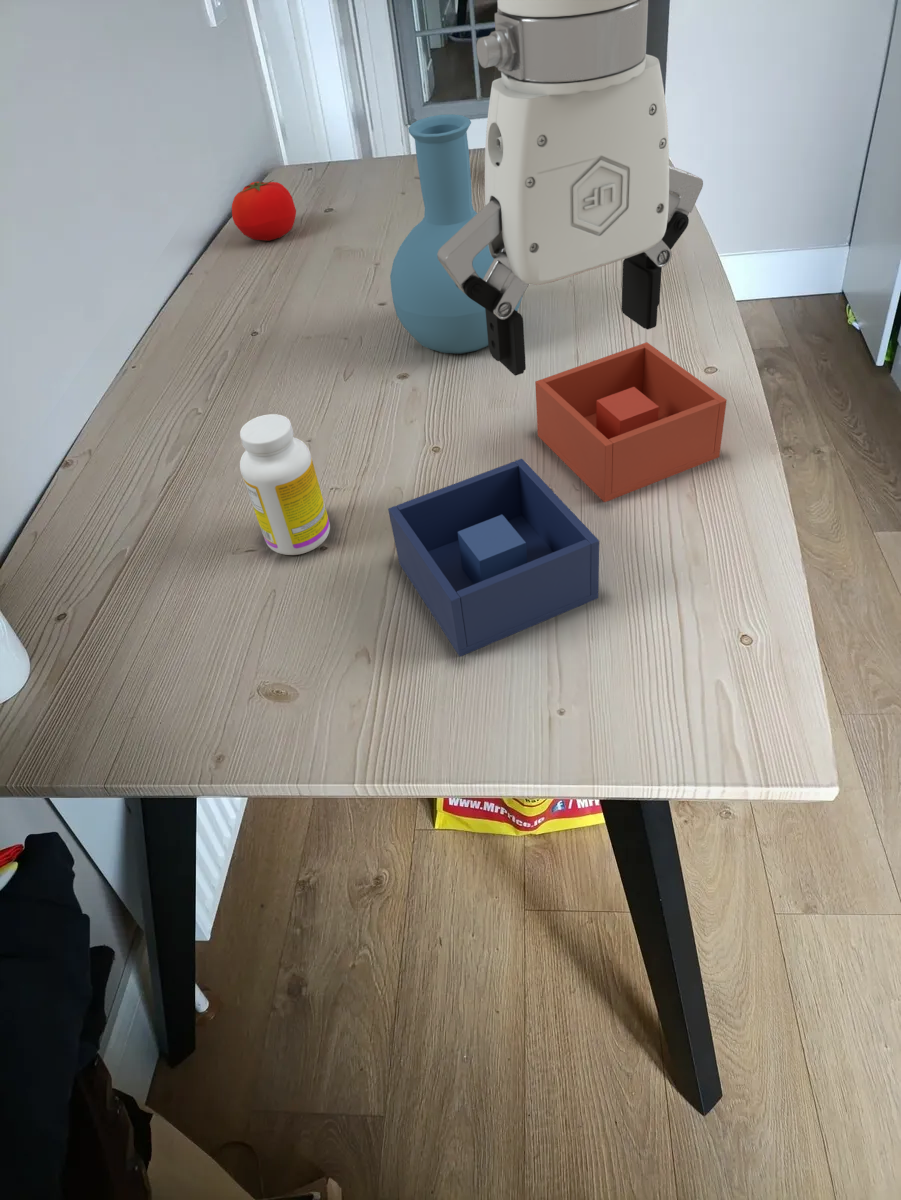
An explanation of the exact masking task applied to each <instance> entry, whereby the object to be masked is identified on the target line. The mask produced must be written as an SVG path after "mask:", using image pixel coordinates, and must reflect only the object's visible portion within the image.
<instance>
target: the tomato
mask: <svg viewBox="0 0 901 1200" xmlns="http://www.w3.org/2000/svg"><path fill="white" fill-rule="evenodd" d="M296 216H297V208H296V206H295V203H294V199H293V197H292V195H291V193H290V191H289V190H288V189H287V188H286V187H285V186H284V185H283V184H282V183H280V182H277V181H274V179H272V180H270V181H267V182H264V181H253V182H250V183H249V184H247V185H246V186H244V187H243V189H242V190H241V191H239V192H237V194H236V195H235V196H234V197H233V200H232V202H231V217H232V221H233V224H234V225H235V226H236V228H237V230H239V231H240V232H241V233H242V235H244V236H246V237H247V238H249V239H251V240H254V241H267V242H269V241H273V240H277V239H280V238H282V237H284V236H286V235H287V234H288V233H290V232H291V230H292V228H293V226H294V225H295V220H296Z"/></svg>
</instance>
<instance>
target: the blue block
mask: <svg viewBox="0 0 901 1200" xmlns="http://www.w3.org/2000/svg"><path fill="white" fill-rule="evenodd" d="M457 533H458V540H459V547H460V555H461V562H462V569H463V570H464V571H465V573H466V574H467V576H468V577H469V578H470V580H471V581H472V582H473V584H476V583H479V582H481V581H484V580H486V579H489V578H491V577H494V576H496V575H499V574H501V573H503V572H506V571H508V570H511V569H513V568H516V567H518V566H521V565H523V564H526V563H527V551H526V542H525V541H524V540H523V539H522V537H521V536H520V535H519V534H518V533H517V531H516V530H515V529H514V528H513V527H512V525H511V524H510V523H509V522H508V521H507V519H506V518H505V517H504V516H503V515H499V516H497V517H494V518H492V519H489V520H487V521H484V522H481V523H479V524H476V525H474V526H471V527H468V528H466V529H463V530H461V531H458V532H457Z"/></svg>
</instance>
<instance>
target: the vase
mask: <svg viewBox="0 0 901 1200" xmlns="http://www.w3.org/2000/svg"><path fill="white" fill-rule="evenodd" d="M471 124H472V121H471V119H470V118H469V117H467V116H465V115H462V114H456V113H455V114H454V113H452V114H451V113H450V114H449V113H447V114H437V115H430V116H427V117H423V118H421V119H418V120H416V121H414V122H412V123H411V124H410V125H409V127H408V128H407V130H408V133H409V135H410V136H411V137H412V138H413V139H414V146H415V154H416V155H415V156H416V162H417V170H418V176H419V183H420V190H421V195H422V201H423V206H424V212H423V213H424V216H423V218H422V220H421V221H420V222H418V223H417V224H416V225H414V227H413V228H412V229H411V230H410V232H409V233H408V234H407V235H406V236H405V238H404V240H403V241H402V243H401V244H400V246H399V247H398V250H397V251H396V254H395V256H394V258H393V260H392V266H391V271H390V289H391V290H390V291H391V298H392V302H393V307H394V310H395V314H396V317H397V318H398V320H399V322H400V323H401V325H402V327H403V328H404V329H405V330H406V331H407V332H408V333H409V334H410V335H411V336H412V337H413V339H415V341H416V342H417V343H419V344H420V345H421V346H422V347H424V348H426V349H428V350H431V351H435V352H439V353H443V354H457V355H459V354H461V355H462V354H467V353H472V352H477V351H480V350H483V349H484V348H487V347H489V346H488V334H487V323H486V311H485V308H484V307H482V306H481V305H479V304H478V303H476V302H475V301H473V300H472V299H470V298H469V297H468V296H467V295H466V294H465V293H463V292H462V291H461V290H460V289H459V288H458V287H457V286H456V284H455V282H454V281H453V279H452V278H451V277H450V276H449V274H448V273H447V271H446V270H445V269H444V267H443V266H442V264H441V263H440V261H439V260H438V258H437V253H438V250H439V249H440V248H441V247H442V246H443V245H444V244H445V243H446V242H447V241H448V240H449V239H450V238H451V237H453V236H454V235H455V234H456V233H457V232H458V231H459V230H460V229H461V228H462V227H463V226H464V225H465V224H467V223H468V222H469V221H470V220H471V219H472V218H473V217H474V216H475V215H476V214H477V213H478V212H477V211H476V210H475V209H474V206H473V196H472V195H473V194H472V175H471V174H472V173H471V161H470V160H471V159H470V150H469V139H468V130H469V128H470V126H471ZM493 260H494V258H493V257H492V256H491V254H490V251H489V246H488V245H487V246H486V247H485V248H484V249H483V250H482V251H480V252H479V253H478V254H477V255H476V256H475V258H474V259H473V262H472V265H473V268H474V270H475V271H476V273H477V275H478V276H479V277H480V278H482V279H483V278H484V276H485V274H486V273H487V271H488V269H489V267H490V265H491V264H492V262H493ZM523 297H524V295H523V296H522V297H521V299H520V301H519V303H518V304H517V306H516V308H515V310H516V311H517V312H518V311H519V308H520V305H521V302H522V300H523Z"/></svg>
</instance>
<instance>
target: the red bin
mask: <svg viewBox="0 0 901 1200" xmlns="http://www.w3.org/2000/svg"><path fill="white" fill-rule="evenodd" d="M534 382H535V383H534V386H535V407H536V426H537V437H538V438H539V439H540V440H541V441H542V442H543V443H544V444H545V445H546V446H547V447H548V448H549V449H550V450H551V451H552V452H553V453H554V454H555V455H556V456H557V457H558V458H559V459H560V460H561V461H562V462H563V463H564V464H565V465H566V466H567V468H569V469H570V470H571V471H572V472H573V473H574V474H575V475H576V476H577V477H578V478H579V479H580V480H581V481H582V482H583V483H584V485H586V486H587V487H588V488H589V489H590V490H591V491H592V492H593V493H594V494H595V495H596V497H598V498H599V499H600V500H601V501H602V502H603V503H606V502H610V501H612V500H614V499H618V498H620V497H622V496H625V495H628V494H630V493H632V492H634V491H637V490H640V489H642V488H644V487H648V486H651V485H652V484H655V483H658V482H660V481H662V480H664V479H667V478H670V477H673V476H675V475H678V474H680V473H683V472H685V471H688V470H690V469H693V468H695V467H699V466H700V465H703V464H706V463H708V462H710V461H713V460H715V459H718V458H720V455H721V448H722V439H723V431H724V424H725V415H726V408H727V399H726V398H724V397H723V396H722V395H720V393H718V392H716V391H715V390H713V389H712V388H711V387H709V386H708V385H706V384H705V383H704V382H703V381H701V380H700V379H698V378H697V377H696V376H694V375H693V374H692V373H690V372H689V371H687V370H686V369H685V368H683V367H682V366H681V365H679V364H678V363H677V362H675V361H673V359H671V358H669V357H668V356H666V354H664V353H662V352H661V351H660V350H659V349H658V348H656V347H654V346H653V345H652V344H650V343H649V342H647V341H646V342H643V343H640V344H638V345H634V346H632V347H629V348H626V349H624V350H621V351H618V352H615V353H612V354H610V355H607V356H604V357H601V358H598V359H596V360H592V361H590V362H587V363H584V364H581V365H578V366H575V367H572V368H570V369H567V370H564V371H560V372H558V373H555V374H553V375H550V376H547V377H544V378H542V379H538V380H535V381H534ZM632 387H635V388H636V389H637V390H639V391H640V392H641V393H642V394H644V395H645V396H646V397H647V398H649V399H650V400H651V401H652V402H654V403H655V404H656V405H657V406H659V412H658V421H656V422H653V423H650V424H648V425H645V426H642V427H640V428H637V429H634V430H632V431H629V432H626V433H624V434H621V435H618V436H616V437H613V438H610V439H609V440H608V439H607V438H606V437H605V436H604V435H603V434H602V433H601V432H599V431H598V430H597V429H596V412H597V400H599V399H602V398H604V397H607V396H610V395H613V394H615V393H618V392H621V391H624V390H626V389H629V388H632Z"/></svg>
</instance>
